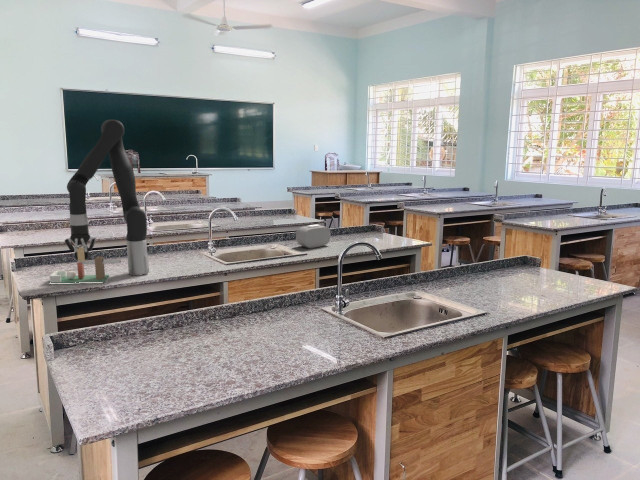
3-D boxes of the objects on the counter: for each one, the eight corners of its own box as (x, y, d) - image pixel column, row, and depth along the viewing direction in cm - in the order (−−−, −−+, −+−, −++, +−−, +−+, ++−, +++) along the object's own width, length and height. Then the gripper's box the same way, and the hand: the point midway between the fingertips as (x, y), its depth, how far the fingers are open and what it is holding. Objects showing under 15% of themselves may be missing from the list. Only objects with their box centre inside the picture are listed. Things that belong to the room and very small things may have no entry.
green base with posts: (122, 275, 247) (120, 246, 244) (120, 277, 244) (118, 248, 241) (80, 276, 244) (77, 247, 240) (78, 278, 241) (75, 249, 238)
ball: (77, 277, 244) (76, 269, 243) (74, 280, 240) (74, 271, 239) (68, 277, 243) (67, 269, 242) (65, 280, 239) (64, 272, 239)
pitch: (109, 276, 250) (107, 254, 247) (103, 283, 239) (101, 260, 237) (56, 278, 246) (54, 255, 243) (48, 285, 235) (46, 261, 233)
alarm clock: (320, 242, 331) (321, 222, 328) (330, 245, 324) (330, 224, 321) (295, 246, 318) (295, 225, 315) (304, 249, 311) (305, 228, 308)
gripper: (97, 221, 242) (100, 257, 245) (65, 222, 239) (68, 257, 243) (93, 224, 234) (96, 261, 238) (60, 225, 232) (63, 261, 236)
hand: (82, 259), depth 241 cm, fingers closed on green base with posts, 3 cm apart
